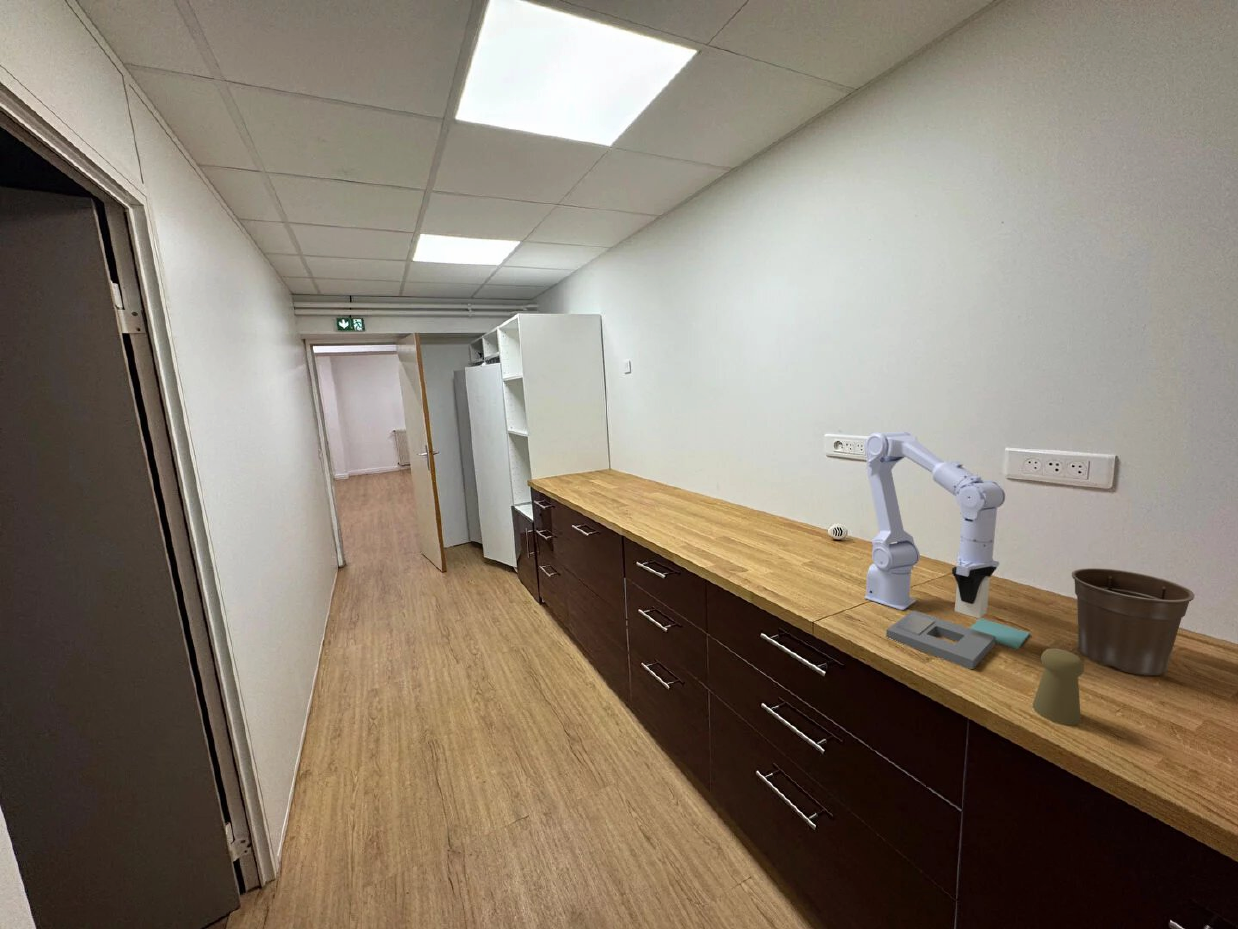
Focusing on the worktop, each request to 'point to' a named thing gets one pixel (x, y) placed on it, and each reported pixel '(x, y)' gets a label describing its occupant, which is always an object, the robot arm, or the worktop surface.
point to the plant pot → (1128, 618)
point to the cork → (1059, 687)
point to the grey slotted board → (920, 634)
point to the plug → (979, 604)
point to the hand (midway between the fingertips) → (971, 598)
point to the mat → (1002, 633)
